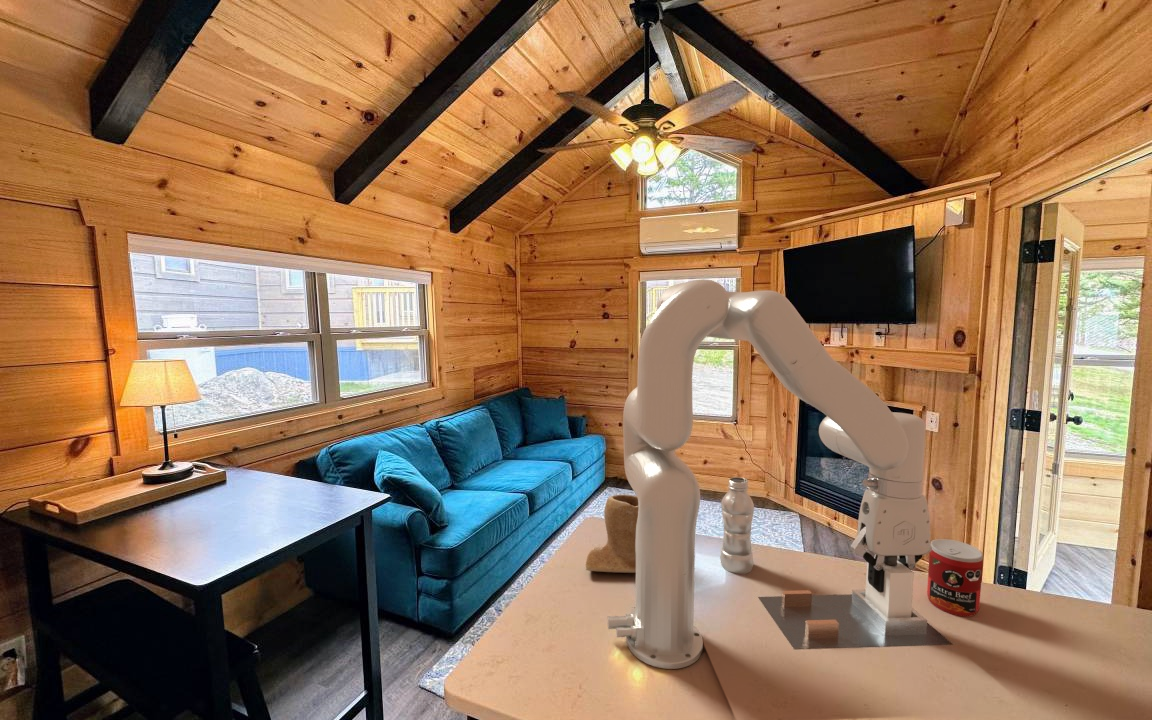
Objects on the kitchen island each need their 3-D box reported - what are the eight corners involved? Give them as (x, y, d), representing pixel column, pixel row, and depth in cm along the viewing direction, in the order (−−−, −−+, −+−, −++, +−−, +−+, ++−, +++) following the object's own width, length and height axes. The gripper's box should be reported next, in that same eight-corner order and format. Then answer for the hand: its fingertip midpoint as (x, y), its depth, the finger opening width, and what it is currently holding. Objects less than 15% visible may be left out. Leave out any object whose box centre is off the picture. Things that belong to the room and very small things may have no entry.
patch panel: (793, 656, 76) (794, 634, 75) (757, 602, 89) (758, 584, 89) (952, 651, 76) (954, 629, 76) (892, 599, 90) (893, 580, 90)
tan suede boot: (653, 551, 109) (653, 488, 108) (659, 580, 97) (659, 510, 96) (587, 550, 110) (587, 487, 109) (585, 578, 98) (585, 509, 97)
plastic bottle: (757, 580, 97) (760, 485, 95) (724, 580, 97) (727, 485, 95) (747, 563, 104) (749, 474, 102) (716, 563, 104) (717, 474, 102)
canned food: (923, 605, 88) (927, 549, 87) (929, 587, 94) (933, 534, 93) (977, 623, 83) (982, 563, 82) (980, 603, 89) (984, 547, 88)
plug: (887, 623, 80) (891, 561, 79) (864, 602, 86) (868, 544, 85) (910, 623, 80) (914, 561, 79) (886, 601, 86) (889, 543, 85)
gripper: (860, 494, 77) (854, 601, 78) (960, 493, 77) (952, 599, 79) (833, 478, 84) (829, 576, 86) (925, 477, 85) (919, 574, 86)
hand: (888, 586), depth 82 cm, fingers closed on plug, 3 cm apart
